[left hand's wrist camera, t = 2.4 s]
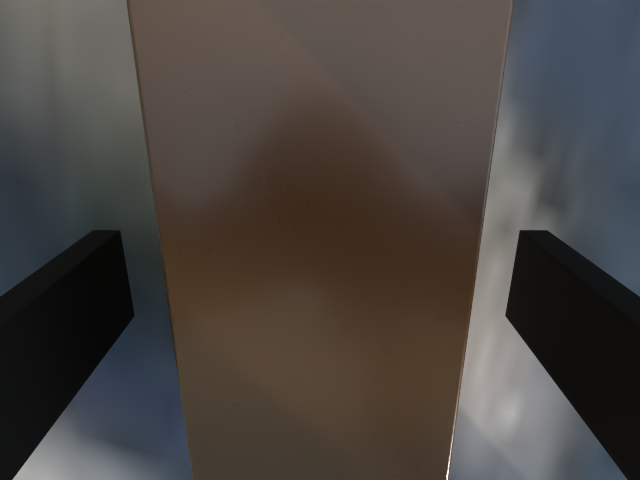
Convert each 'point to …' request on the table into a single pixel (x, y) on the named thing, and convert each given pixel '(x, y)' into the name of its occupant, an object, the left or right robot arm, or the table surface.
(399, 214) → the beam
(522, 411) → the table surface
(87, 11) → the table surface
